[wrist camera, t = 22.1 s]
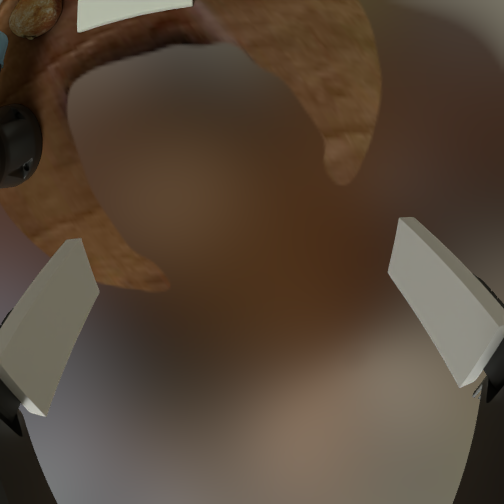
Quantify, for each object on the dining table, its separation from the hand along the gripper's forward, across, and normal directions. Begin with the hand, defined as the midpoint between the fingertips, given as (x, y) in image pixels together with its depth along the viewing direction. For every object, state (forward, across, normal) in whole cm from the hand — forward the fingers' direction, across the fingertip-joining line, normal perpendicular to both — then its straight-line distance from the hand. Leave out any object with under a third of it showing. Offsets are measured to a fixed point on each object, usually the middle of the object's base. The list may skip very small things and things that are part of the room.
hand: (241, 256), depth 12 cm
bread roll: (+35, -31, +28) cm, 55 cm away
